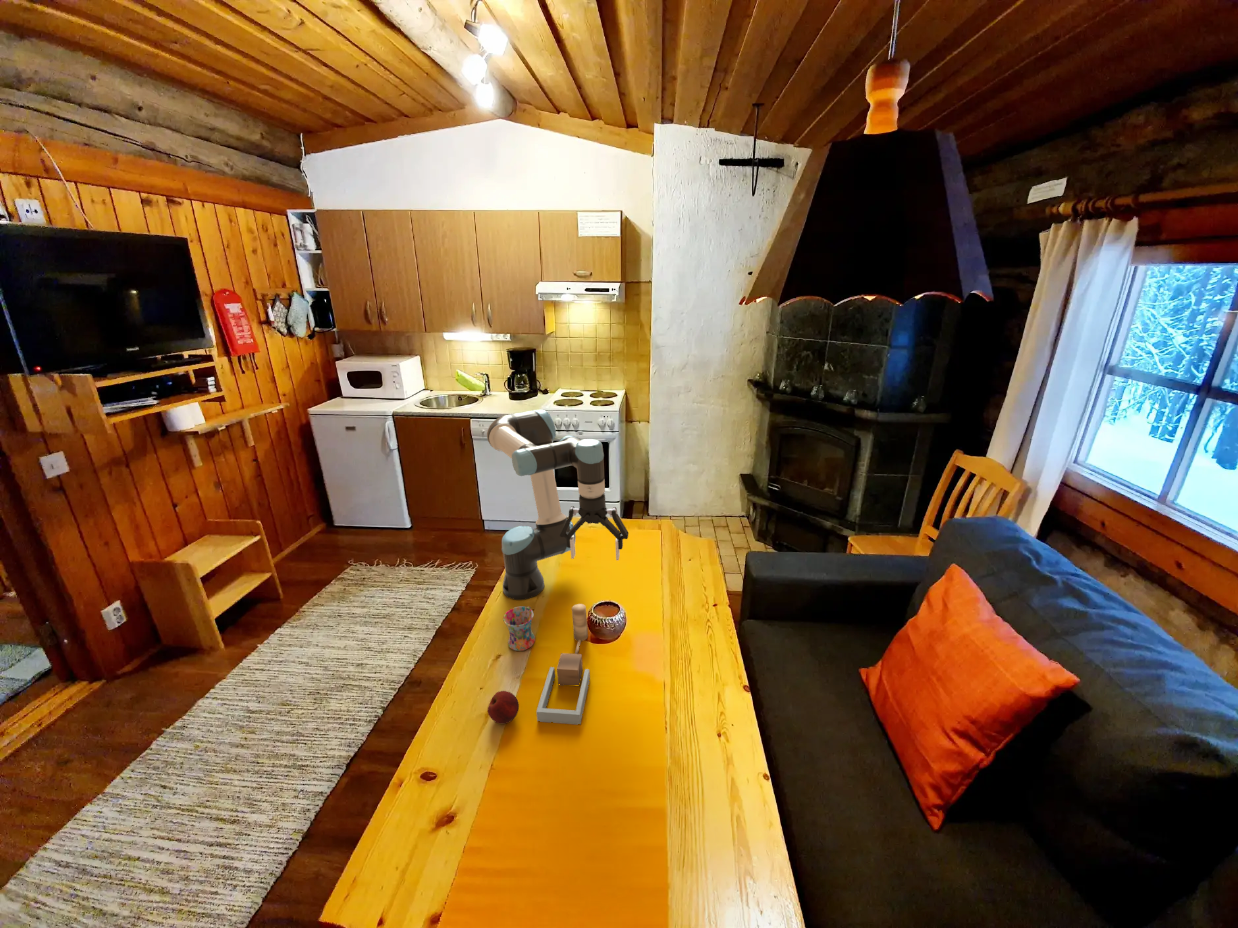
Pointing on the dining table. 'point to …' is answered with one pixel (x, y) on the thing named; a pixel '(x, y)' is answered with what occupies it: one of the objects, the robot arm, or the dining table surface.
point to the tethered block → (572, 663)
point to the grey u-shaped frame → (560, 714)
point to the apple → (503, 707)
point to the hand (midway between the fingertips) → (595, 557)
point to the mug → (519, 627)
